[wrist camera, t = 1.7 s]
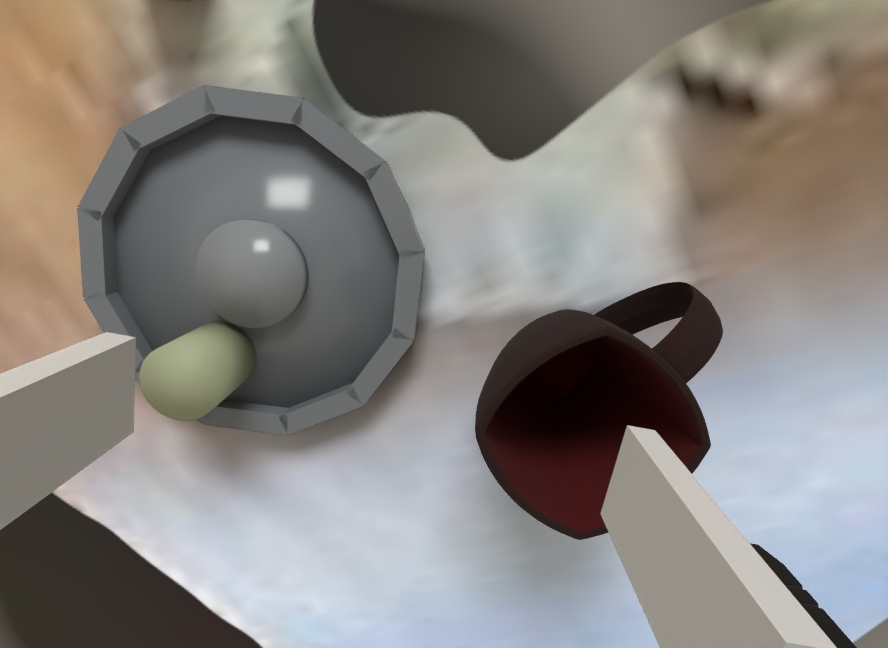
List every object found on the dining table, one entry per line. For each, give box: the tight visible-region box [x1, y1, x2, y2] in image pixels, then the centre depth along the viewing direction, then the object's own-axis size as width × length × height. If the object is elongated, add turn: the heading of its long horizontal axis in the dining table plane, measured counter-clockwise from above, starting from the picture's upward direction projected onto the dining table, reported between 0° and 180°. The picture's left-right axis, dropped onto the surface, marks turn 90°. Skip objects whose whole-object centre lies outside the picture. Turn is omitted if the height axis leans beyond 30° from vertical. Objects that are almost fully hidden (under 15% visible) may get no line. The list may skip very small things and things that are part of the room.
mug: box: [475, 282, 723, 540], centre depth 29 cm, size 10×14×12 cm
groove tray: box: [77, 85, 425, 435], centre depth 33 cm, size 22×22×2 cm
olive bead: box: [139, 321, 257, 421], centre depth 32 cm, size 5×5×6 cm
